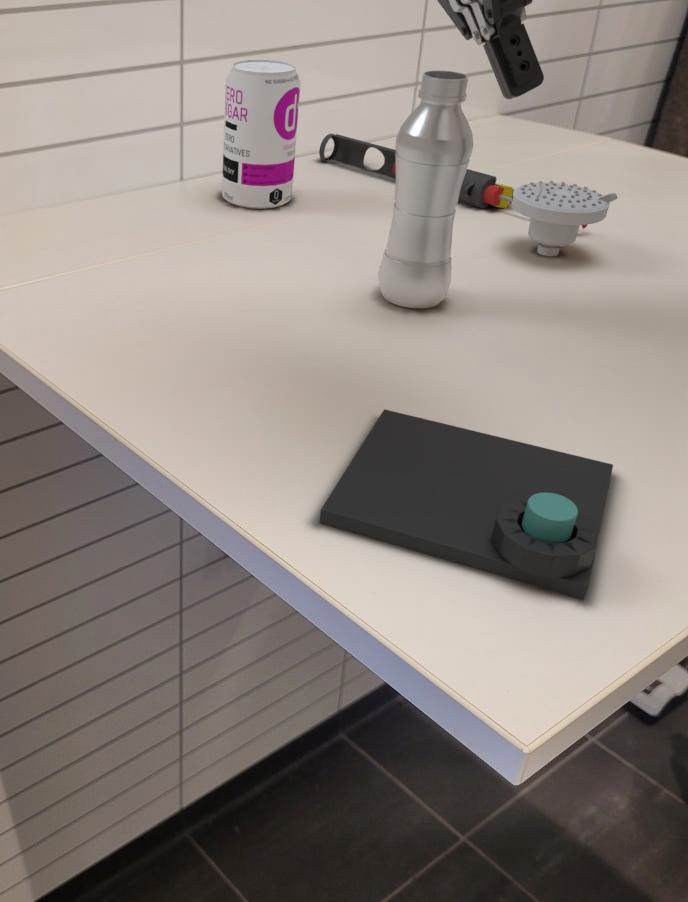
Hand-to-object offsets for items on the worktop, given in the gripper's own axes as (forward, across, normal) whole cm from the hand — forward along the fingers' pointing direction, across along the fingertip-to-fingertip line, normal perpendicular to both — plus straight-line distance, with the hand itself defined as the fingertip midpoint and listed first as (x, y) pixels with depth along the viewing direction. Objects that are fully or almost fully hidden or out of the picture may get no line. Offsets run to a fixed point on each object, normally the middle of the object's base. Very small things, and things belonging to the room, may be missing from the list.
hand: (525, 91), depth 58 cm
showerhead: (+18, +39, -10) cm, 44 cm away
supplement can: (0, +54, +15) cm, 56 cm away
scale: (+22, -4, +14) cm, 26 cm away
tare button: (+22, -10, +12) cm, 27 cm away
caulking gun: (+10, +58, -8) cm, 60 cm away
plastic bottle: (+14, +27, +8) cm, 31 cm away
